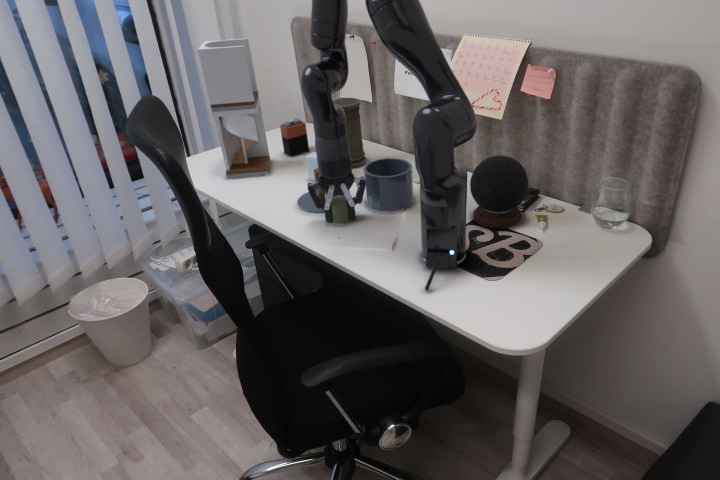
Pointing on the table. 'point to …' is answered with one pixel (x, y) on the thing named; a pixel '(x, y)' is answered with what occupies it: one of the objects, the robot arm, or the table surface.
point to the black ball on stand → (498, 191)
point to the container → (353, 129)
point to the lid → (307, 202)
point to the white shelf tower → (235, 106)
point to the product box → (311, 164)
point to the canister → (388, 184)
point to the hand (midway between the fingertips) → (340, 220)
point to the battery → (294, 137)
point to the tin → (339, 210)
